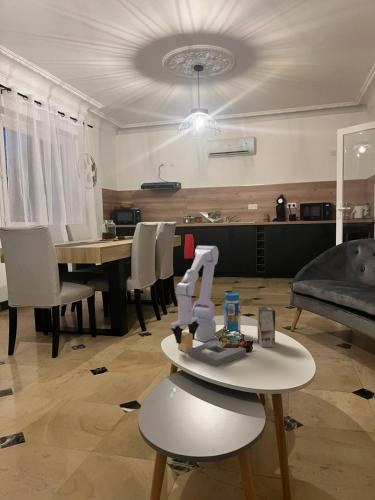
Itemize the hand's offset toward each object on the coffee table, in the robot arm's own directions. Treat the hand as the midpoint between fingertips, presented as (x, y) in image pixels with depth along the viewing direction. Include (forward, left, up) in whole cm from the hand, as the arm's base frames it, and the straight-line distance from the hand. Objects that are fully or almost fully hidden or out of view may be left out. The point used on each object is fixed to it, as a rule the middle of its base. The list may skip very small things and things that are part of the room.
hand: (185, 341), depth 156 cm
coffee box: (-31, +20, -4) cm, 37 cm away
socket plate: (-5, +14, -4) cm, 15 cm away
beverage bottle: (-31, 0, -4) cm, 31 cm away
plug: (0, 0, -4) cm, 4 cm away
